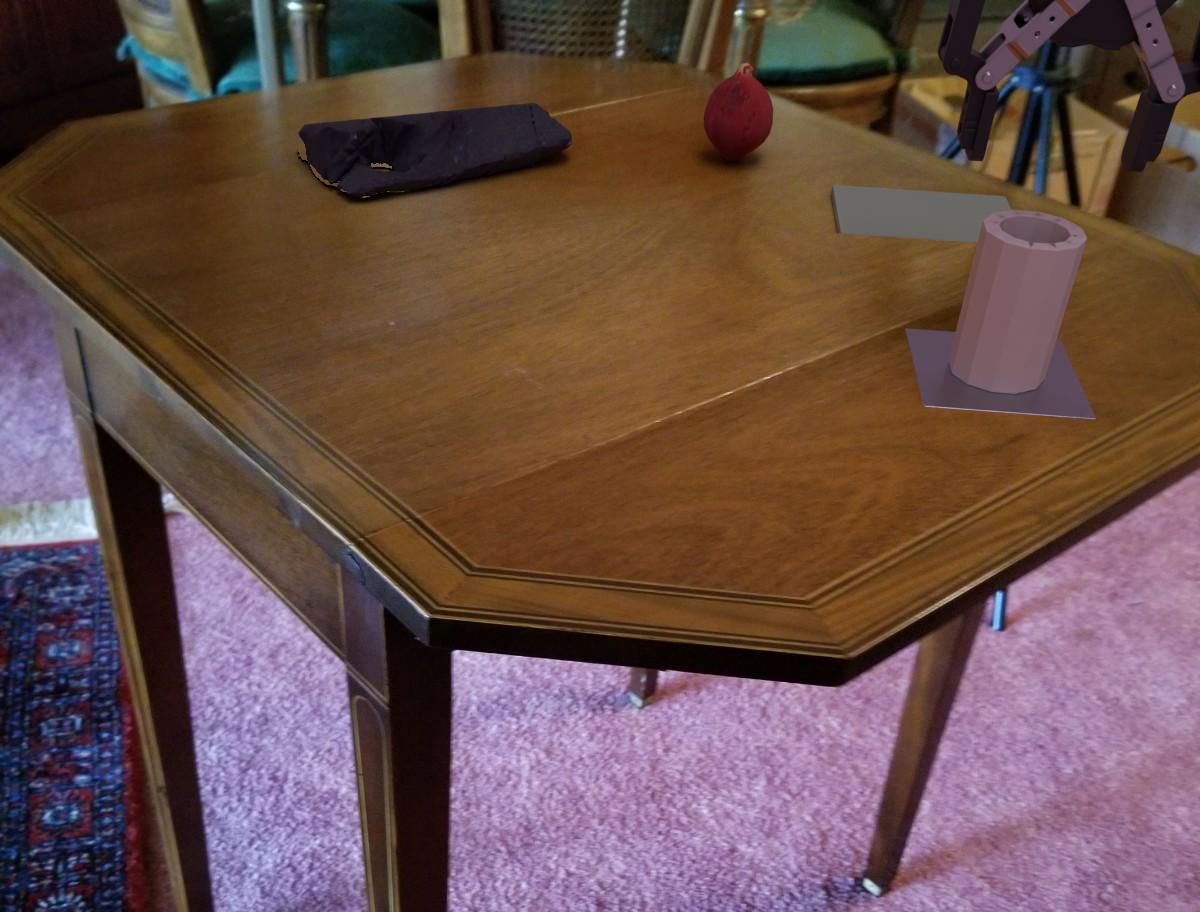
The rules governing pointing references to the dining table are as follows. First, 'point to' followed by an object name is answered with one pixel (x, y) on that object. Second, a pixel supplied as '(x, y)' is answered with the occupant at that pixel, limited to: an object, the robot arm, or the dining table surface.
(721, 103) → the onion
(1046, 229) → the paper roll
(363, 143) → the black folded cloth
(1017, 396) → the roll stand
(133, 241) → the dining table surface
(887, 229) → the mat
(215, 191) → the dining table surface
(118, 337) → the dining table surface
